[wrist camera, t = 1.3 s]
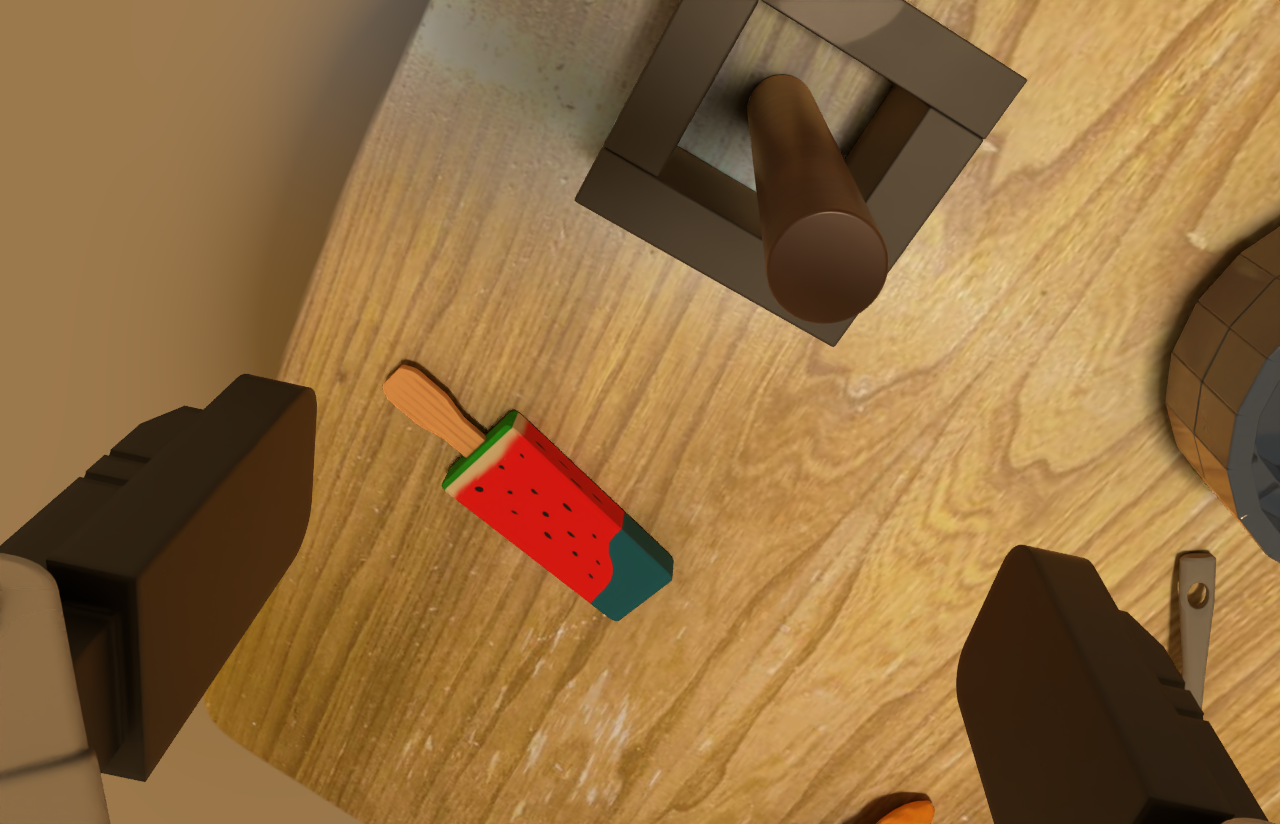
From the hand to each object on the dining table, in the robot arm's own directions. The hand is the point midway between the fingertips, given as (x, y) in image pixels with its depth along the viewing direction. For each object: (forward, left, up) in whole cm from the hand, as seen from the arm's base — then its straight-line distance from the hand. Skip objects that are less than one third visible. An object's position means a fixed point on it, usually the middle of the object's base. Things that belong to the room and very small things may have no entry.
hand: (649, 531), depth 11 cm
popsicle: (+18, +2, -28) cm, 33 cm away
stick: (-1, +3, -27) cm, 28 cm away
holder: (-1, +3, -27) cm, 28 cm away
